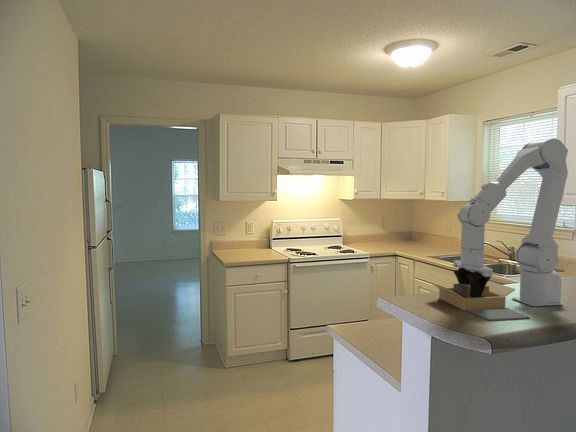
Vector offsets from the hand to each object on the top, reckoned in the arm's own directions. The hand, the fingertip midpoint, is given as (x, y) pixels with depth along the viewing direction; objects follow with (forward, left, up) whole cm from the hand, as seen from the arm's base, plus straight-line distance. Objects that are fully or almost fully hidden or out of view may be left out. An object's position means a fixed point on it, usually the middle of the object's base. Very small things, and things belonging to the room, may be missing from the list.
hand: (470, 298), depth 112 cm
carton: (0, 0, -1) cm, 1 cm away
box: (0, 0, -1) cm, 1 cm away
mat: (0, +11, -1) cm, 11 cm away
